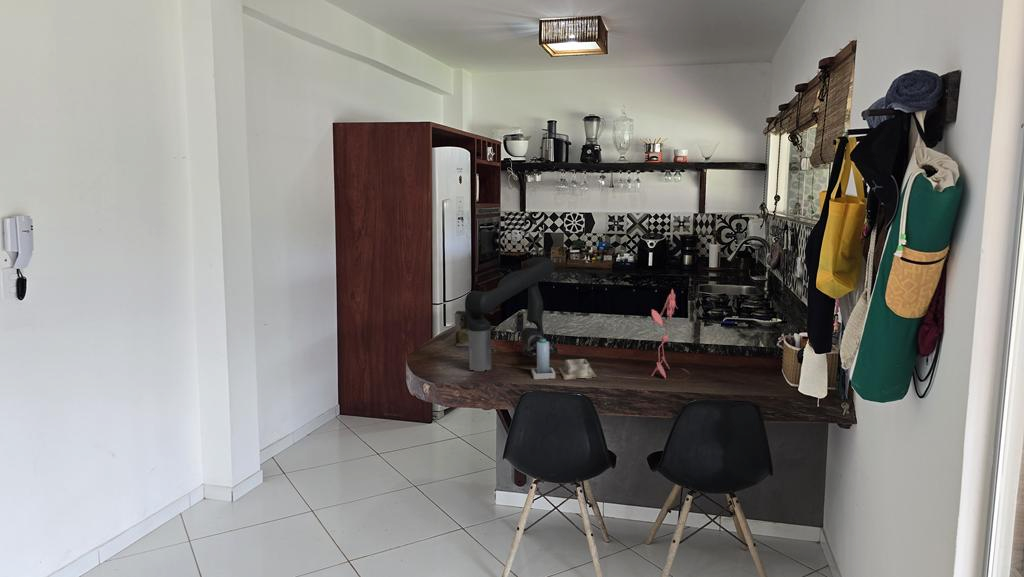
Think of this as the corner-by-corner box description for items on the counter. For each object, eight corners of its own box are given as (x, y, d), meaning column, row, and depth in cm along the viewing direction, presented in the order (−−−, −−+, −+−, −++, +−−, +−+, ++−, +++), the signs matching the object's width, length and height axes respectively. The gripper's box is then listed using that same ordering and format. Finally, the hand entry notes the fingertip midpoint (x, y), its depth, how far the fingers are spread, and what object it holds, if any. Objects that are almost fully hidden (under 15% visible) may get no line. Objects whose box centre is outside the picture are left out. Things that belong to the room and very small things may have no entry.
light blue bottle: (538, 377, 287) (537, 341, 284) (536, 374, 292) (535, 338, 289) (550, 377, 287) (549, 340, 285) (548, 373, 292) (548, 337, 290)
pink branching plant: (644, 381, 278) (648, 294, 272) (658, 364, 302) (661, 283, 295) (684, 386, 272) (688, 297, 266) (695, 368, 296) (699, 286, 289)
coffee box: (476, 343, 345) (475, 310, 342) (474, 346, 338) (473, 313, 336) (457, 343, 346) (456, 310, 343) (455, 346, 339) (454, 313, 336)
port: (564, 379, 284) (564, 367, 283) (559, 370, 297) (558, 358, 296) (596, 378, 285) (596, 365, 284) (589, 368, 298) (589, 357, 297)
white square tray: (534, 379, 285) (534, 374, 285) (531, 373, 293) (531, 368, 293) (555, 378, 286) (555, 373, 285) (552, 372, 294) (552, 367, 294)
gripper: (520, 337, 306) (524, 346, 290) (553, 335, 307) (559, 344, 291) (521, 353, 307) (525, 364, 291) (553, 352, 308) (559, 362, 292)
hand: (542, 354), depth 291 cm, fingers open, 8 cm apart
